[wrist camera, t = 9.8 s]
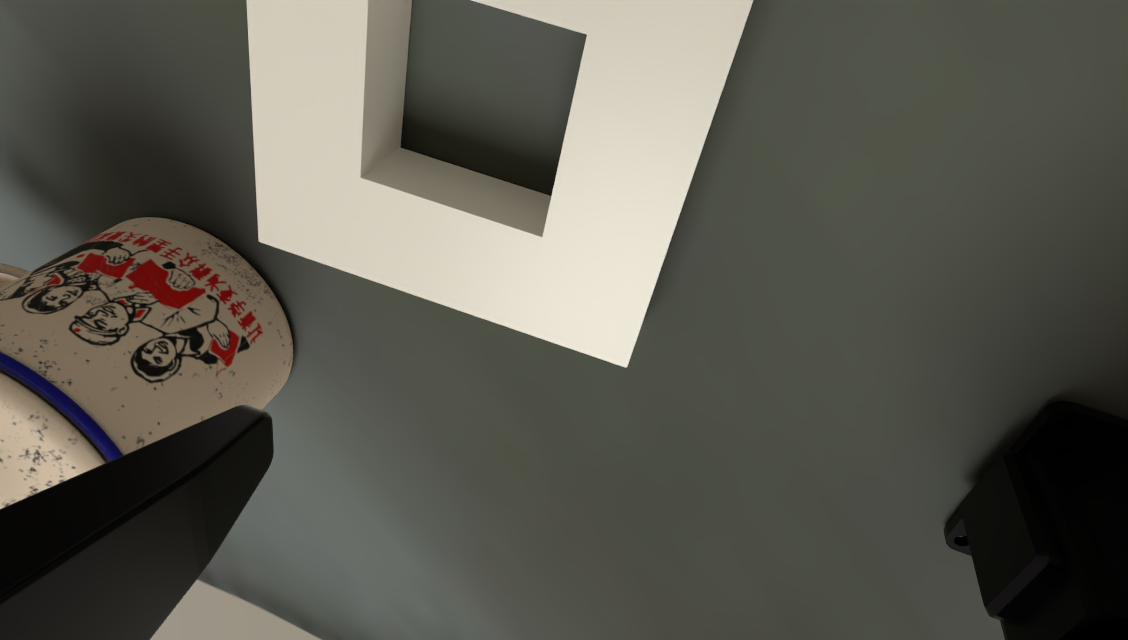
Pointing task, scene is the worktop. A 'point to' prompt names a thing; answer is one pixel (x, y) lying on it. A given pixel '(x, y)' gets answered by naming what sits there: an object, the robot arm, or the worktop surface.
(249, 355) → the teacup with lid
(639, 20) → the panel
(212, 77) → the worktop surface
